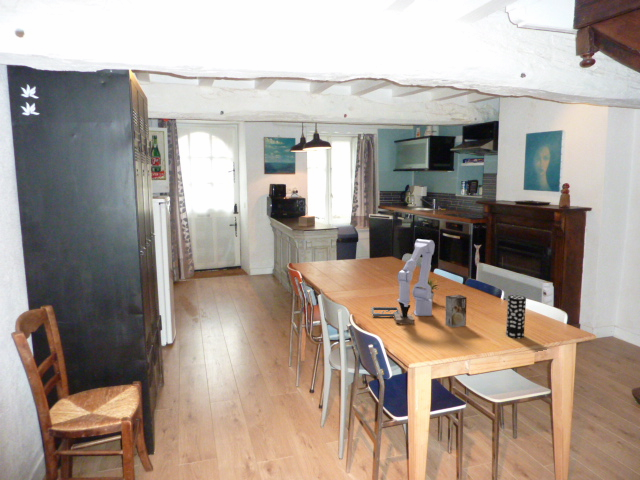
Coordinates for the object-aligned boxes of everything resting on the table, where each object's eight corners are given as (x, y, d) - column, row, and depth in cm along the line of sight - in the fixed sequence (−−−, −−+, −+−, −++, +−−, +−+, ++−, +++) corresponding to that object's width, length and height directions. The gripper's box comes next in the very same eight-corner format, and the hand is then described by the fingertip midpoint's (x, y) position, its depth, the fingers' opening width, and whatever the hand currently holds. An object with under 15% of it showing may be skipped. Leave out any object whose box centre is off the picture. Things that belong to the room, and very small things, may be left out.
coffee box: (459, 322, 255) (460, 294, 253) (466, 326, 249) (467, 297, 247) (444, 324, 253) (445, 295, 251) (451, 327, 247) (452, 298, 245)
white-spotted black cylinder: (519, 332, 238) (521, 295, 235) (527, 338, 230) (529, 299, 227) (503, 333, 238) (505, 295, 235) (510, 338, 230) (512, 299, 227)
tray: (397, 310, 279) (397, 307, 279) (400, 317, 265) (400, 314, 265) (371, 310, 280) (371, 307, 280) (372, 317, 266) (372, 313, 266)
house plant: (422, 305, 288) (422, 280, 286) (412, 300, 302) (412, 275, 299) (442, 303, 292) (443, 278, 290) (431, 298, 305) (432, 274, 303)
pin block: (411, 318, 263) (411, 314, 263) (414, 324, 253) (414, 319, 253) (394, 318, 263) (394, 314, 263) (396, 324, 254) (396, 319, 253)
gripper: (395, 288, 263) (395, 311, 265) (398, 295, 249) (398, 319, 251) (408, 288, 263) (407, 311, 265) (412, 295, 249) (411, 319, 251)
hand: (404, 315), depth 258 cm, fingers closed on pin, 4 cm apart
